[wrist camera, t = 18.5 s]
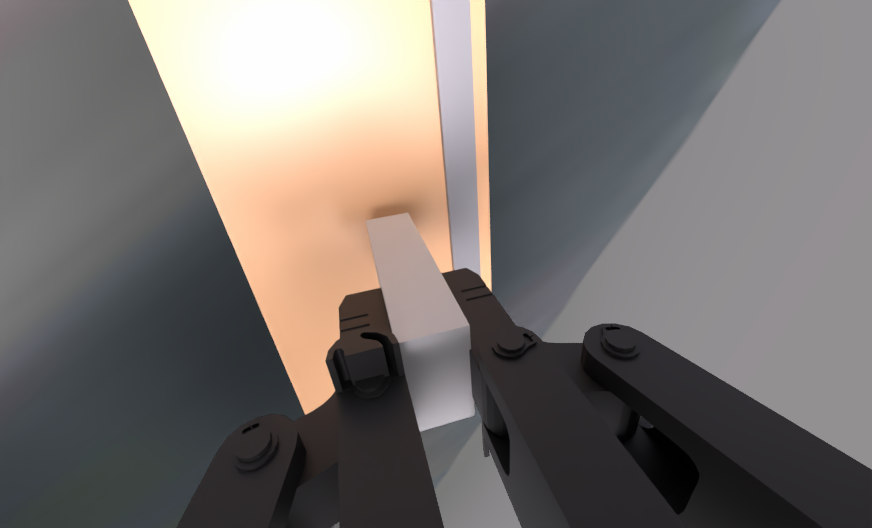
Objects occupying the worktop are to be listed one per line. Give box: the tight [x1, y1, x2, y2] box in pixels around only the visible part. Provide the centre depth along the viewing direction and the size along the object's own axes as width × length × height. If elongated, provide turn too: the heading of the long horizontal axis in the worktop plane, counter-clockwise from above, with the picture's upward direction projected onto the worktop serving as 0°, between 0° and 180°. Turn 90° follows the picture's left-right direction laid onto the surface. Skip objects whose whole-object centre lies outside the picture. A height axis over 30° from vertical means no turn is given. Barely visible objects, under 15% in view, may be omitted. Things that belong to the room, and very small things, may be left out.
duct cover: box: [128, 0, 491, 415], centre depth 15 cm, size 10×20×1 cm, turn 5°
